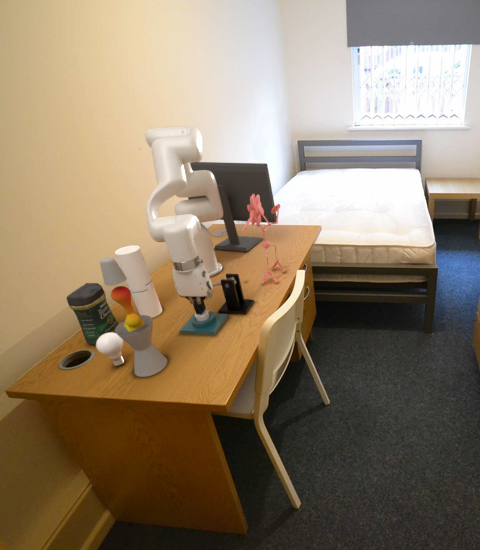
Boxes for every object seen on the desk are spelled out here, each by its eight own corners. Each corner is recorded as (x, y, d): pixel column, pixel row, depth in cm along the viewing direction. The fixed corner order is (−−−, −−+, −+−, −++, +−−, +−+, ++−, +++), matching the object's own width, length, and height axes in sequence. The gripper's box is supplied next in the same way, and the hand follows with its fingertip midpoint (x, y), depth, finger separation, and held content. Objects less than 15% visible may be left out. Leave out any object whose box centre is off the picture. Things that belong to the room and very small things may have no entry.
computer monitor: (286, 241, 184) (274, 159, 165) (272, 254, 170) (257, 168, 151) (210, 235, 193) (190, 158, 174) (191, 248, 180) (167, 165, 160)
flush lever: (200, 294, 126) (197, 288, 125) (210, 284, 133) (207, 278, 131) (231, 289, 124) (228, 283, 123) (239, 279, 130) (236, 273, 129)
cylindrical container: (166, 309, 133) (144, 246, 121) (150, 320, 127) (126, 255, 115) (151, 305, 135) (128, 244, 123) (135, 316, 129) (109, 253, 117)
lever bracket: (218, 313, 129) (210, 282, 123) (228, 301, 136) (221, 271, 130) (245, 314, 128) (238, 283, 122) (254, 302, 135) (247, 272, 129)
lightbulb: (114, 357, 110) (100, 328, 105) (135, 356, 110) (122, 327, 105) (102, 372, 105) (87, 342, 99) (125, 371, 105) (111, 341, 100)
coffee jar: (107, 346, 115) (83, 296, 106) (83, 346, 115) (57, 297, 106) (125, 327, 123) (105, 280, 114) (103, 327, 124) (80, 280, 115)
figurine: (293, 263, 162) (282, 185, 145) (271, 293, 140) (255, 206, 123) (260, 261, 164) (245, 184, 147) (234, 291, 142) (213, 205, 125)
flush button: (193, 321, 120) (191, 316, 119) (200, 314, 124) (198, 309, 123) (206, 322, 120) (204, 317, 119) (212, 314, 123) (211, 309, 122)
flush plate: (180, 334, 119) (177, 325, 118) (196, 316, 128) (193, 308, 126) (215, 335, 118) (212, 326, 117) (228, 317, 127) (226, 309, 125)
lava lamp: (128, 367, 106) (79, 260, 89) (160, 351, 112) (120, 248, 95) (140, 382, 101) (90, 271, 84) (173, 364, 107) (133, 257, 90)
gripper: (215, 257, 114) (227, 306, 123) (170, 256, 116) (185, 305, 124) (203, 268, 107) (217, 319, 116) (156, 267, 109) (173, 318, 118)
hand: (201, 312), depth 120 cm, fingers closed
